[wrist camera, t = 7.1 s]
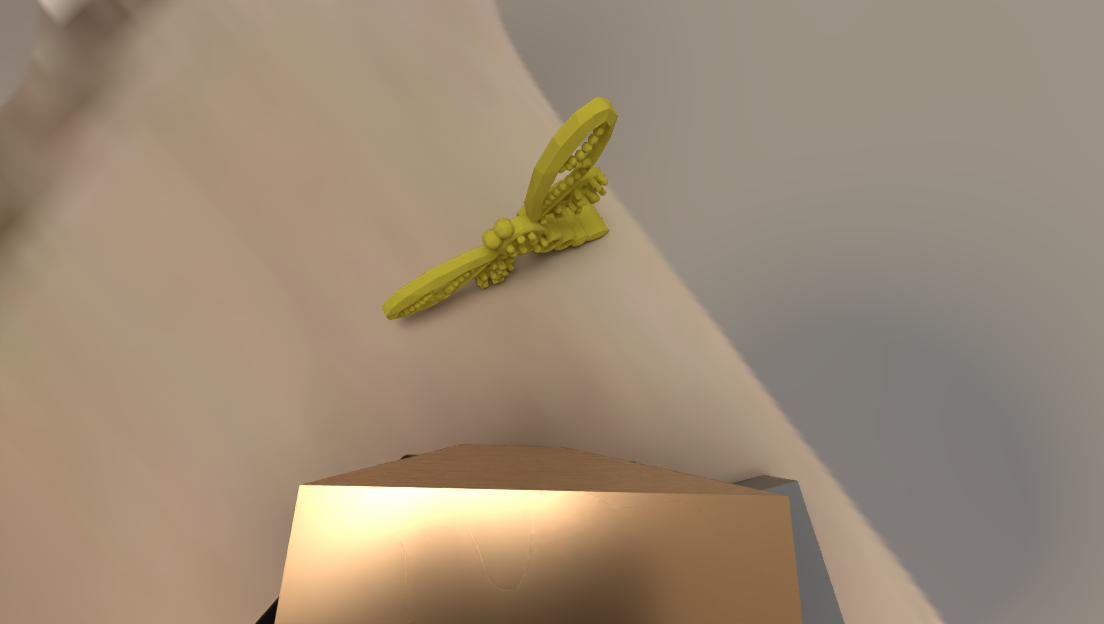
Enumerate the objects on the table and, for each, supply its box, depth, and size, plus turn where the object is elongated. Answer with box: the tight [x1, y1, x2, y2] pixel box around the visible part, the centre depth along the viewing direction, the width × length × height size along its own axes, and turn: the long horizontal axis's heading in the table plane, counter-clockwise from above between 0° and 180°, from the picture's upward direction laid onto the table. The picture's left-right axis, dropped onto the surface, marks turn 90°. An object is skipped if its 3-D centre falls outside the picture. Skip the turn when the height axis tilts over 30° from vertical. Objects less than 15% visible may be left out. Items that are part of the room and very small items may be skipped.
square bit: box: [274, 444, 803, 624], centre depth 8 cm, size 3×3×12 cm
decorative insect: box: [382, 97, 618, 320], centre depth 21 cm, size 13×3×10 cm
